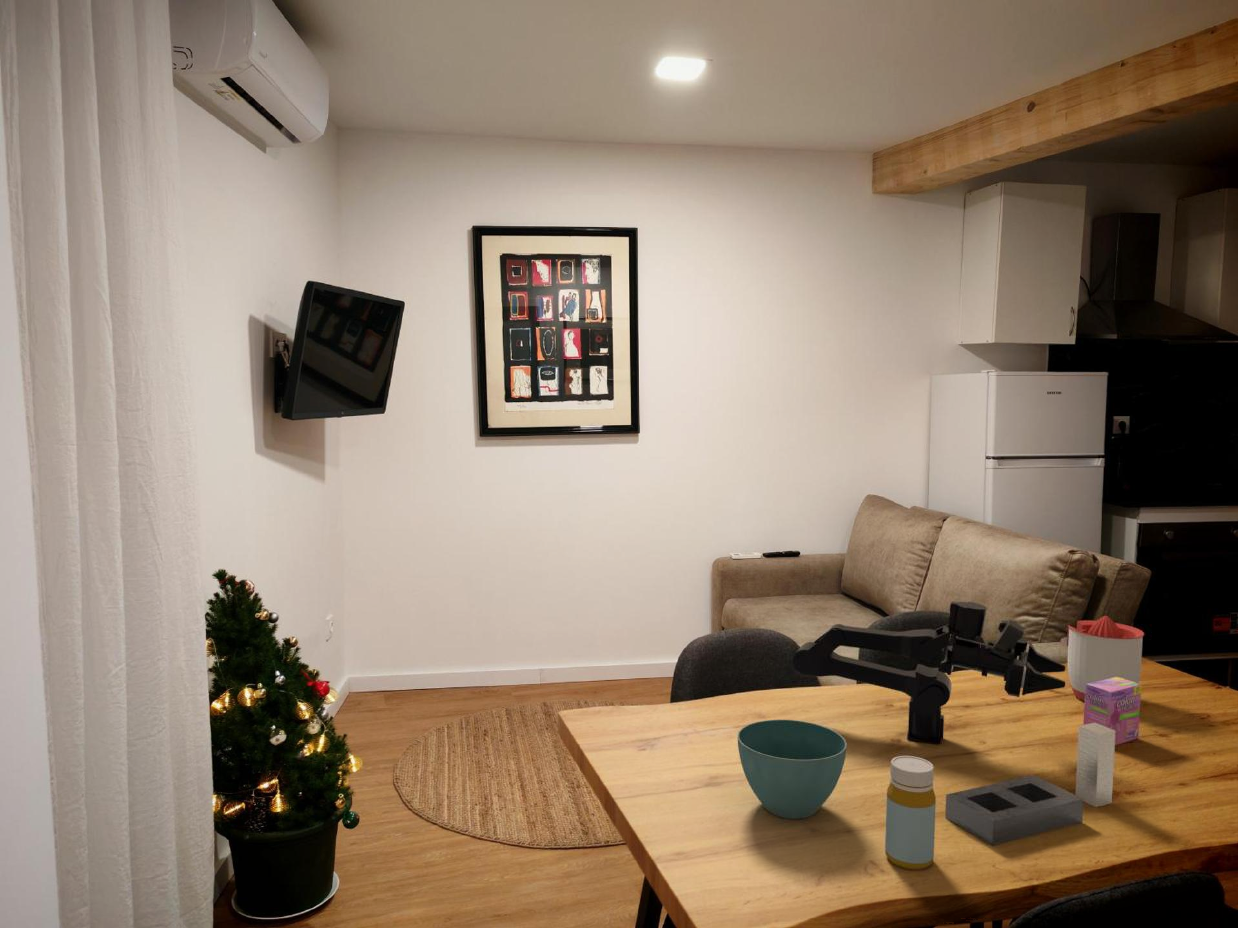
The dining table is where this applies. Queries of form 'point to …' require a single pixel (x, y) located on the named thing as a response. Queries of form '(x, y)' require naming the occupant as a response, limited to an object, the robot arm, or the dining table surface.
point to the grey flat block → (1013, 809)
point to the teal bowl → (791, 764)
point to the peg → (1095, 764)
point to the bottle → (910, 813)
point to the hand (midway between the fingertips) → (1065, 676)
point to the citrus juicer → (1102, 653)
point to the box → (1114, 707)
